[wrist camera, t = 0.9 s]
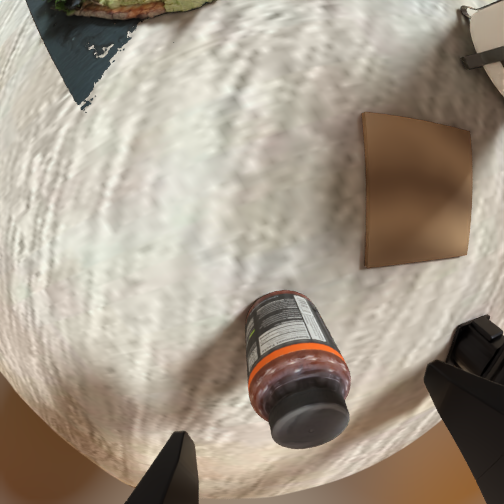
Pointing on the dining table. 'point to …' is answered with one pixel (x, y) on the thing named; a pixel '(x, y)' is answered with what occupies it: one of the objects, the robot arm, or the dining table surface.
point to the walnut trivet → (415, 190)
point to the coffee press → (487, 41)
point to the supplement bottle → (295, 371)
